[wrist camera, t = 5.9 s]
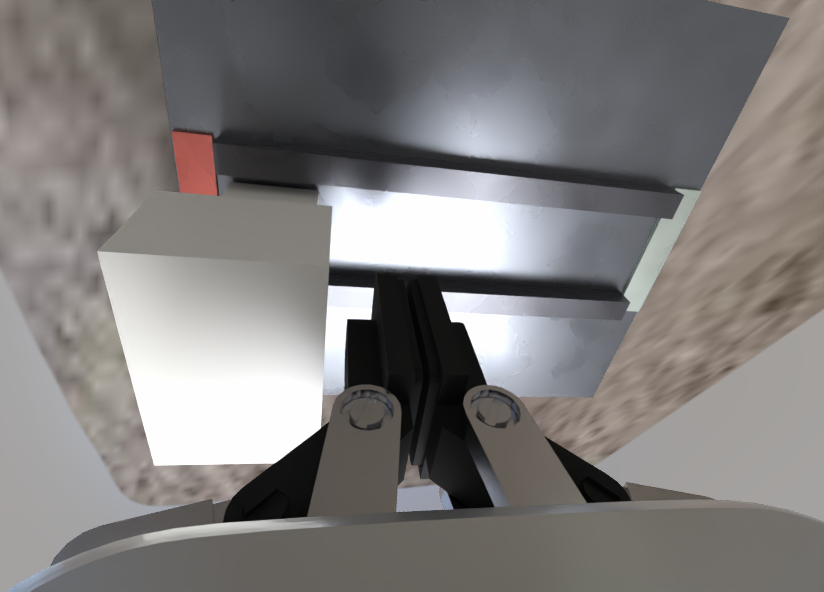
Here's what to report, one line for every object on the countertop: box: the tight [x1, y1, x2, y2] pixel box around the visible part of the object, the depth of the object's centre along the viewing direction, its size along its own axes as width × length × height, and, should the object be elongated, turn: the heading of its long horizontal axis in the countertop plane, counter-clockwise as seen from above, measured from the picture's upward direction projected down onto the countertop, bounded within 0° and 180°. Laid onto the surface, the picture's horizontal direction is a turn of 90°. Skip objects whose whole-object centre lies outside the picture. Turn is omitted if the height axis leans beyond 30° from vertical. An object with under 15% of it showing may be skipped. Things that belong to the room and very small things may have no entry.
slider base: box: [152, 0, 789, 397], centre depth 20 cm, size 18×20×7 cm
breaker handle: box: [97, 182, 332, 465], centre depth 13 cm, size 6×4×8 cm, turn 172°
